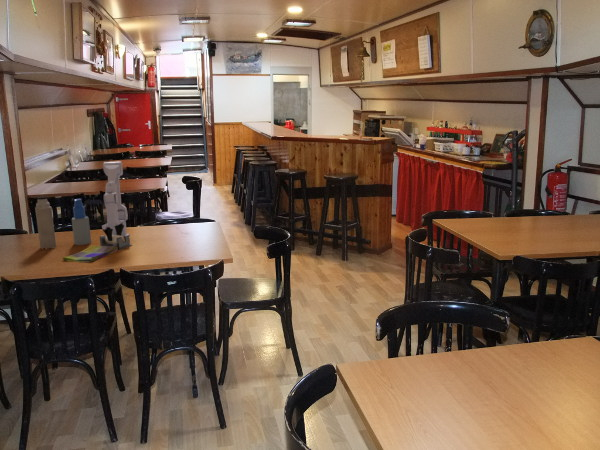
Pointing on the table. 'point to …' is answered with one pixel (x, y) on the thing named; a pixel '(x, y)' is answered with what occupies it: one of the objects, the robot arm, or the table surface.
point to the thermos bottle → (45, 223)
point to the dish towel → (91, 254)
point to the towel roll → (114, 239)
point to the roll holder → (119, 244)
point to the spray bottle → (80, 224)
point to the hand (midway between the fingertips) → (114, 239)
